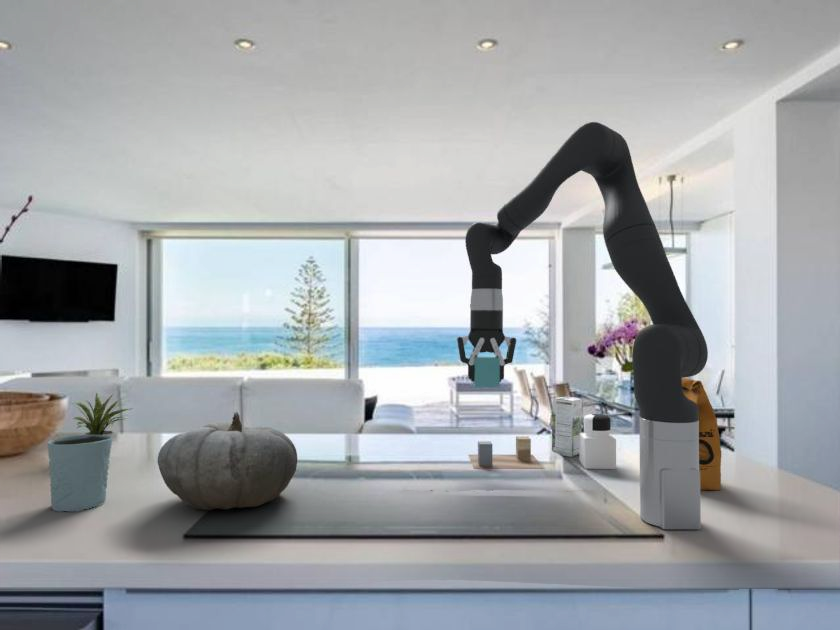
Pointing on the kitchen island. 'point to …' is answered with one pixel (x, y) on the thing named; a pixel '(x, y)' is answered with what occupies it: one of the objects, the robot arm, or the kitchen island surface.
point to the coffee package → (706, 436)
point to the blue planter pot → (79, 471)
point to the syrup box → (566, 425)
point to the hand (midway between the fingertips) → (485, 381)
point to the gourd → (228, 465)
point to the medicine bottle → (597, 443)
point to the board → (512, 458)
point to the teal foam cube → (486, 371)
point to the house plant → (99, 417)
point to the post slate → (484, 453)
